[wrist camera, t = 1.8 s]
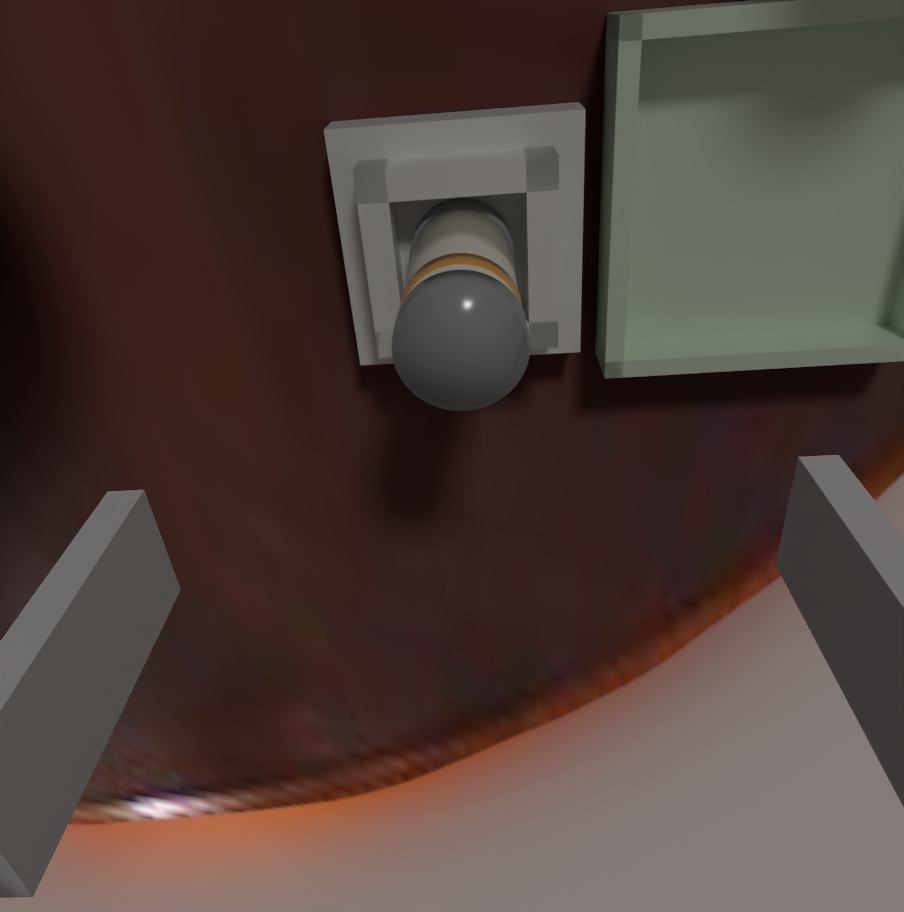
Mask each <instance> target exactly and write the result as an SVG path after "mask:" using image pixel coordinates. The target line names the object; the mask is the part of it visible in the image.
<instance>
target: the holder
mask: <svg viewBox="0 0 904 912" xmlns="http://www.w3.org/2000/svg"><path fill="white" fill-rule="evenodd" d="M585 111H586V109H585V108H584V107H583V106H582V105H581V104H580V103H579V102H574V103H562V104H549V105H536V106H524V107H511V108H498V109H486V110H473V111H460V112H448V113H435V114H423V115H410V116H397V117H385V118H372V119H359V120H347V121H334V122H331V123H330V124H329V125H328V126H327V127H326V128H325V129H324V135H325V141H326V148H327V154H328V161H329V167H330V173H331V180H332V186H333V193H334V199H335V205H336V212H337V218H338V225H339V231H340V238H341V244H342V250H343V257H344V263H345V270H346V276H347V282H348V289H349V295H350V302H351V308H352V314H353V321H354V327H355V334H356V340H357V347H358V353H359V359H360V365H376V364H392V363H394V362H393V357H392V347H391V346H392V336H393V331H394V327H395V322H396V318H397V314H398V311H399V308H400V305H401V300H402V296H403V293H404V290H405V288H406V283H407V278H408V273H409V268H410V251H411V245H412V240H413V236H414V232H415V230H416V227H417V225H418V223H419V222H420V220H421V219H422V217H423V216H424V215H425V214H426V213H427V212H428V211H429V210H430V209H431V208H433V207H434V206H436V205H437V204H439V203H441V202H444V201H446V200H450V199H455V198H469V199H475V200H478V201H481V202H483V203H485V204H487V205H489V206H490V207H492V208H493V209H494V210H496V211H497V212H498V213H499V214H500V215H501V217H502V218H503V219H504V221H505V222H506V224H507V226H508V228H509V231H510V234H511V238H512V243H513V249H514V270H515V276H516V282H517V287H518V291H519V294H520V298H521V302H522V308H523V311H524V313H525V317H526V321H527V327H528V332H529V338H530V355H540V354H556V353H573V352H580V340H581V294H582V248H583V203H584V157H585Z"/></svg>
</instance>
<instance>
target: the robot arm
mask: <svg viewBox="0 0 904 912" xmlns="http://www.w3.org/2000/svg"><path fill="white" fill-rule="evenodd" d="M775 565H776V567H777V568H778V570H779V572H780V574H781V576H782V578H783V580H784V582H785V584H786V585H787V587H788V589H789V591H790V593H791V595H792V597H793V599H794V600H795V602H796V604H797V606H798V608H799V610H800V612H801V614H802V616H803V618H804V619H805V621H806V623H807V625H808V627H809V629H810V631H811V633H812V635H813V636H814V638H815V640H816V642H817V644H818V646H819V648H820V650H821V652H822V654H823V655H824V657H825V659H826V661H827V663H828V665H829V667H830V669H831V671H832V672H833V674H834V676H835V678H836V680H837V682H838V684H839V686H840V687H841V690H842V691H843V693H844V695H845V697H846V699H847V701H848V703H849V705H850V707H851V708H852V710H853V712H854V714H855V716H856V718H857V720H858V722H859V724H860V726H861V727H862V729H863V731H864V733H865V735H866V737H867V739H868V741H869V742H870V744H871V746H872V748H873V750H874V752H875V754H876V756H877V758H878V760H879V761H880V763H881V765H882V767H883V769H884V771H885V773H886V775H887V777H888V779H889V780H890V782H891V784H892V786H893V788H894V790H895V792H896V794H897V796H898V797H899V799H900V801H901V803H902V805H903V807H904V537H903V536H902V535H901V534H900V532H899V531H898V530H897V529H896V527H895V526H894V525H893V523H892V522H891V521H890V520H889V518H888V517H887V516H886V514H885V513H884V512H883V511H882V509H881V508H880V507H879V506H878V504H877V503H876V502H875V501H874V499H873V498H872V497H871V495H870V494H869V493H868V492H867V490H866V489H865V488H864V487H863V485H862V484H861V483H860V481H859V480H858V479H857V478H856V476H855V475H854V474H853V473H852V471H851V470H850V469H849V467H848V466H847V465H846V464H845V462H844V461H843V460H842V459H841V457H840V456H839V455H827V456H807V457H798V461H797V465H796V470H795V475H794V480H793V484H792V489H791V494H790V498H789V503H788V508H787V513H786V517H785V522H784V527H783V531H782V536H781V541H780V546H779V550H778V555H777V560H776V564H775ZM179 592H180V587H179V584H178V581H177V579H176V576H175V573H174V570H173V568H172V565H171V562H170V559H169V557H168V554H167V551H166V549H165V546H164V543H163V540H162V538H161V535H160V532H159V529H158V527H157V524H156V521H155V519H154V516H153V513H152V510H151V508H150V505H149V502H148V499H147V497H146V494H145V491H144V490H130V491H110V492H107V493H106V495H105V496H104V498H103V499H102V500H101V502H100V503H99V505H98V506H97V507H96V509H95V510H94V512H93V513H92V514H91V516H90V517H89V519H88V520H87V521H86V523H85V524H84V525H83V527H82V528H81V530H80V531H79V532H78V534H77V535H76V537H75V538H74V539H73V541H72V542H71V544H70V545H69V546H68V548H67V549H66V551H65V552H64V553H63V555H62V556H61V557H60V559H59V560H58V562H57V563H56V564H55V566H54V567H53V569H52V570H51V571H50V573H49V574H48V576H47V577H46V578H45V580H44V581H43V583H42V584H41V585H40V587H39V588H38V589H37V591H36V592H35V594H34V595H33V596H32V598H31V599H30V601H29V602H28V603H27V605H26V606H25V608H24V609H23V610H22V612H21V613H20V615H19V616H18V617H17V619H16V620H15V622H14V623H13V624H12V626H11V627H10V628H9V630H8V631H7V633H6V634H5V635H4V637H3V638H2V640H1V641H0V897H33V895H34V893H35V891H36V889H37V887H38V885H39V883H40V881H41V879H42V877H43V874H44V873H45V870H46V868H47V866H48V864H49V862H50V860H51V858H52V856H53V854H54V852H55V850H56V848H57V845H58V843H59V841H60V839H61V837H62V835H63V833H64V831H65V829H66V827H67V825H68V823H69V821H70V818H71V816H72V814H73V812H74V810H75V808H76V806H77V804H78V802H79V800H80V798H81V796H82V793H83V791H84V789H85V787H86V785H87V783H88V781H89V779H90V777H91V775H92V773H93V771H94V769H95V766H96V764H97V762H98V760H99V758H100V756H101V754H102V752H103V750H104V748H105V746H106V744H107V742H108V739H109V737H110V735H111V733H112V731H113V729H114V727H115V725H116V723H117V721H118V719H119V717H120V714H121V712H122V710H123V708H124V706H125V704H126V702H127V700H128V698H129V696H130V694H131V692H132V690H133V687H134V685H135V683H136V681H137V679H138V677H139V675H140V673H141V671H142V669H143V667H144V665H145V662H146V660H147V658H148V656H149V654H150V652H151V650H152V648H153V646H154V644H155V642H156V640H157V638H158V635H159V633H160V631H161V629H162V627H163V625H164V623H165V621H166V619H167V617H168V615H169V613H170V610H171V608H172V606H173V604H174V602H175V600H176V598H177V596H178V594H179Z"/></svg>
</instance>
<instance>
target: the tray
mask: <svg viewBox="0 0 904 912" xmlns="http://www.w3.org/2000/svg"><path fill="white" fill-rule="evenodd" d="M595 353H596V356H597V358H598V361H599V364H600V367H601V370H602V373H603V376H604V378H605V379H607V378H624V377H641V376H658V375H675V374H692V373H708V372H725V371H742V370H759V369H776V368H793V367H810V366H827V365H844V364H861V363H878V362H895V361H904V0H750V1H738V2H727V3H715V4H703V5H691V6H680V7H668V8H656V9H645V10H633V11H621V12H609V13H607V23H606V52H605V82H604V111H603V140H602V170H601V199H600V229H599V258H598V288H597V317H596V347H595Z"/></svg>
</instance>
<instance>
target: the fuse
mask: <svg viewBox="0 0 904 912" xmlns="http://www.w3.org/2000/svg"><path fill="white" fill-rule="evenodd" d="M391 347H392V357H393V362H394V365H395V368H396V371H397V373H398V375H399V377H400V378H401V380H402V381H403V383H404V384H405V385H406V387H407V388H408V389H409V390H410V391H411V392H412V393H413V394H415V395H416V396H417V397H419V398H420V399H422V400H423V401H425V402H427V403H429V404H431V405H433V406H436V407H439V408H443V409H447V410H454V411H467V410H475V409H479V408H483V407H486V406H489V405H491V404H493V403H495V402H497V401H499V400H500V399H502V398H503V397H505V396H506V395H507V394H508V393H509V392H511V391H512V390H513V388H514V387H515V386H516V385H517V384H518V382H519V381H520V379H521V378H522V376H523V374H524V372H525V370H526V367H527V364H528V361H529V356H530V338H529V332H528V327H527V321H526V317H525V313H524V311H523V308H522V302H521V298H520V294H519V291H518V287H517V282H516V276H515V270H514V249H513V243H512V238H511V234H510V231H509V228H508V226H507V224H506V222H505V221H504V219H503V218H502V217H501V215H500V214H499V213H498V212H497V211H496V210H494V209H493V208H492V207H490V206H489V205H487V204H485V203H483V202H481V201H478V200H475V199H469V198H455V199H450V200H446V201H444V202H441V203H439V204H437V205H436V206H434V207H433V208H431V209H430V210H429V211H428V212H427V213H426V214H425V215H424V216H423V217H422V219H421V220H420V222H419V223H418V225H417V227H416V230H415V232H414V236H413V240H412V245H411V251H410V268H409V273H408V278H407V283H406V288H405V290H404V293H403V296H402V300H401V305H400V308H399V311H398V314H397V318H396V322H395V327H394V331H393V336H392V346H391Z"/></svg>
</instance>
